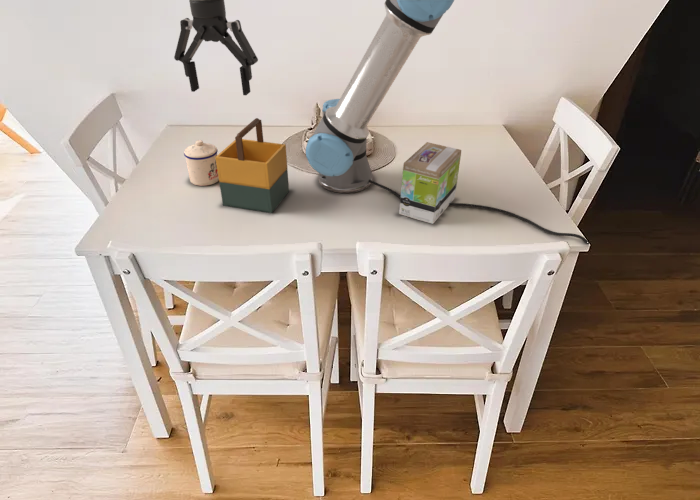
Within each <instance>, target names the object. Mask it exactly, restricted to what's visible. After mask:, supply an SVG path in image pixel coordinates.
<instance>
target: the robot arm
mask: <svg viewBox="0 0 700 500" xmlns="http://www.w3.org/2000/svg"><path fill="white" fill-rule="evenodd" d="M454 2H455V0H385V2H384V3H383V4H384V9H385V16H384V18H383V20H382V21H381V23H380V25H379V28H378V30H377V31H376V33H375V34H374V36H373V38H372V40H371V42H370V44H369V45H368V47H367V49H366V51H365V53H364V54H363V56H362V58H361V60H360V61H359V64H358V66H357V67H356V69H355V71H354V72H353V74H352V76H351V78H350V80H349V82H348V84H347V85H346V87H345V89H344V90H343V92H342V95H341V96H340V98H332V99H328V100H326V101H324V102H323V104H322V110H321V112H322V117H321V119H320V121H319V122H318V125H317V127H316V129H315V130H314V132H313V134H312V135H311V136H310V137H309V139H308V140H307V142H306V146H305V157H306V159H307V162H308V164H309V165H310V166H311V168H312V169H314V171H315V172H317V173H318V183H319V185H320V186H321V188H323V189H325V190H327V191H330V192H333V193H339V194H351V193H358V192H361V191H364V190H366V189H368V188H369V187H370V186H371V185H374V186H377V187H379V188H381V189H384V190H385V191H388V192H390V193H392V194H394V195H395V196H396V197H398V198H399V200H400V199H401V193H398V192H397V191H396V190H394V189H392V188H389V187H388V186H386V185H383V184H381V183H379V182H376V181H374V180H373V172H372V169H371V165H370V162H369V159H368V156H367V138H368V136H369V134H370V131H369V128H368V125H369V124H370V121H371V120H372V118H373V117H374V115H375V113H376V112H377V110H378V108H379V107H380V105H381V104H382V102H383V100H384V98H385V97H386V95H387V93H388V92H389V90H390V89H391V87H392V85H393V84H394V82H395V80H396V79H397V77H398V76H399V74H400V72H401V70H402V68H403V67H404V66H405V64H406V63H407V60H408V59H409V58H410V56H411V54H412V52H413V51H414V49H415V47H416V45H417V44H418V42H419V41H420V39H421V38H422V37H425V36H429V35H431V34H433V32H434V30H435V28H436V27H437V26H438V24H439V22H440V21H441V19H442V18H443V16H444V15H445V14H446V12H447V11H449V9H450V8H451V7H452V5H453V3H454ZM225 4H226V3H225V0H189V7H190V8H189V9H190V14H191V16H192V19H190V18H189V17H185V18H183V19H180V33H179V36H178V41H177V44H176V48H175V51H174V52H175V53H174V56H173V59H174V60H175V61H177V62H181V63H182V64H183V70H184V75H185V77H187V78H188V81H189V86H190V91H191V92H193V93H194V92H197V90H199V89H200V84H199V79H198V74H197V73H198V72H197V69H196V62H195V61H193V58H194V56H195V54H196V52H197V51H198V49H199V47H201V44H202V43H203V41H204V42H213V43H218V42H220V44H222V45H224V46H225V47H226V49H228V51H229V52H230V53H231V54H232V55H233V57H234V58H235V59H236V60H237V61H238V63H239V64H240V65H241V66H239V75H240V81H241V90H242V94H243V96H247V95H249V94H250V93H251V85H250V81H251V80H252V79H253V75H252V74H253V73H252V72H253V71H252V66H253V65H255V64H256V63H258V61H259V58H258V56H257V55H256V52H255V51H254V49H253V47H252V46H251V44H250V42H249V40H248V39H247V36H246V35H245V32H244V31H243V29H242V23H241V21H240V20H239V19H235V20H234V21H228V19H227V13H226V12H227V11H226V5H225ZM192 29H194V31H195V32H196V34H195V35H194V37H193V40H192V42H191V43H190V45H189V47H188V48H187V46H188V42H189V38H190V34H191V30H192ZM228 30H230V32H232V34H233V36H234V38H235V40H236V42H237V43H236V42H235V40H234V39H233V37H232V36H231V34H230V33H229V32H228ZM449 206H451V207H452V206H454V207H467V208H477V209H484V210H489V211H495V212H498V213H502V214H506V215H508V216H511V217H513V218H516V219H518V220H522V221H523V222H526V223H528V224H529V225H532V226H533V227H535V228H537V229H539V230H540V231H542V232H545V233H547V234H549V235H552V236H559V237H571V238H577V239H580V240H581V241H583V242H584V243H585V244H586V245H590V242H589V241H588V239H586V238H585V237H584V236H583V235H580V234H577V233H570V232H556V231H553V230H549V229H547V228H545V227H543V226H541V225H540V224H537V223H536V222H534V221H532V220H530V219H529V218H526V217H525V216H521V215H519V214H516V213H515V212H511V211H508V210H504V209H501V208H497V207H492V206H487V205H482V204H472V203H462V202H460V203H459V202H451V203H449ZM449 206H448V207H449ZM587 242H588V243H587Z"/></svg>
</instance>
